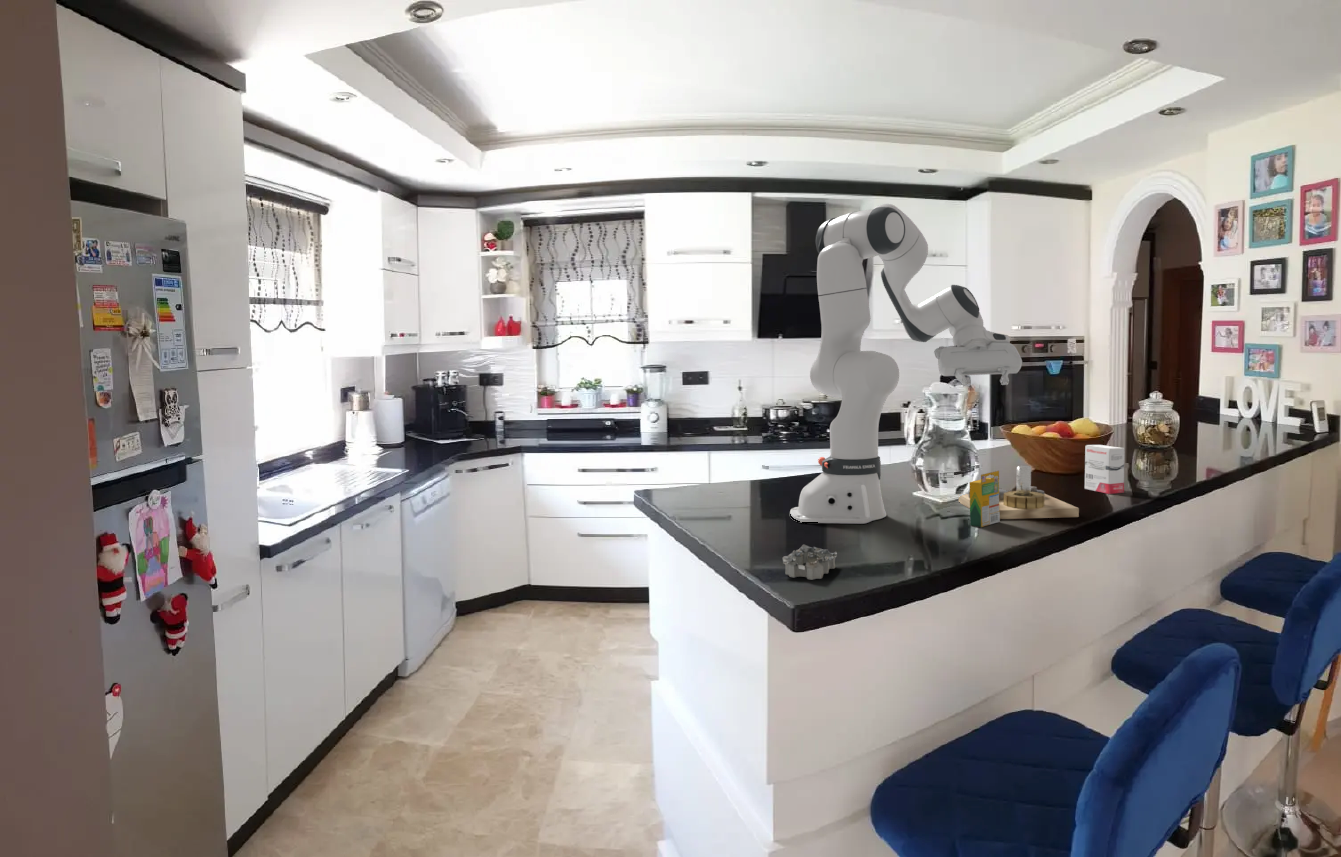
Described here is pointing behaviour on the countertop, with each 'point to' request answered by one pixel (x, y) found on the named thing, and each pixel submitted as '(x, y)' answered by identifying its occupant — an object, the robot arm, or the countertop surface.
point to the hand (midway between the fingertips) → (986, 384)
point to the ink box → (1104, 469)
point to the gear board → (1033, 513)
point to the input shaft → (1023, 480)
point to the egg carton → (809, 562)
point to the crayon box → (984, 500)
